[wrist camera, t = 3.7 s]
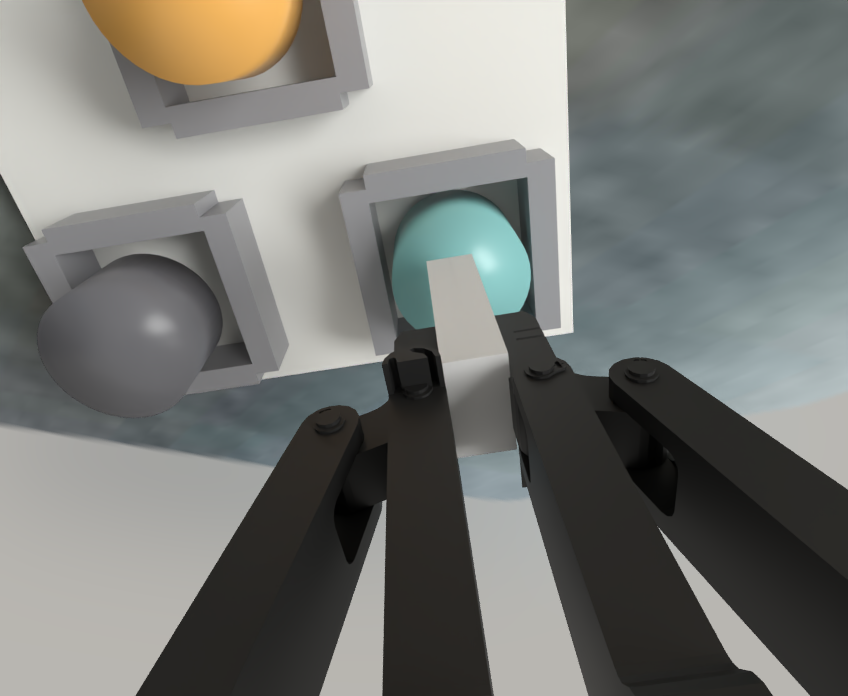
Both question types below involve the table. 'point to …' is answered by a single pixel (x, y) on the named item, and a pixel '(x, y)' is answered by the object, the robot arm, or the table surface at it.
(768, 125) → the table surface
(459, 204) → the teal button
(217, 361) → the panel
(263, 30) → the orange button
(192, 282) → the charcoal button
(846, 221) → the table surface
